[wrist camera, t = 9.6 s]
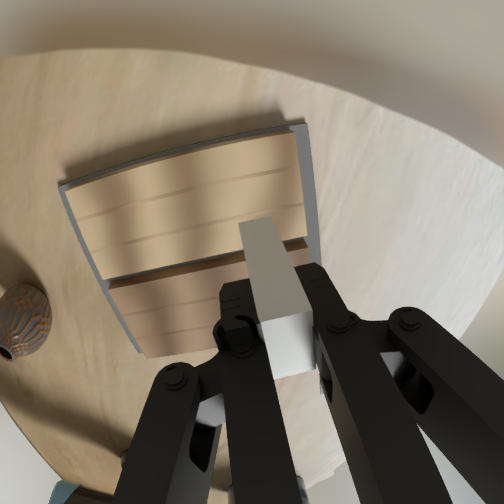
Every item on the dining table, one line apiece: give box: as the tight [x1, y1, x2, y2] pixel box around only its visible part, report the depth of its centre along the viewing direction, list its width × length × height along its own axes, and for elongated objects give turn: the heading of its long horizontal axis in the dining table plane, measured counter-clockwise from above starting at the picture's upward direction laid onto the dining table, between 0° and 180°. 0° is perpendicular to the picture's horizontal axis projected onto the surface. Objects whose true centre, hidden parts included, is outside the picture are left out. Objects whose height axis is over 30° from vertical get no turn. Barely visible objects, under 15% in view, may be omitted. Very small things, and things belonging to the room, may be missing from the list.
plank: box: [65, 130, 307, 280], centre depth 25 cm, size 19×9×2 cm, turn 100°
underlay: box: [58, 123, 322, 353], centre depth 29 cm, size 22×21×1 cm
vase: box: [0, 285, 52, 362], centre depth 25 cm, size 7×7×9 cm
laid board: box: [108, 240, 310, 359], centre depth 30 cm, size 19×10×2 cm, turn 100°
